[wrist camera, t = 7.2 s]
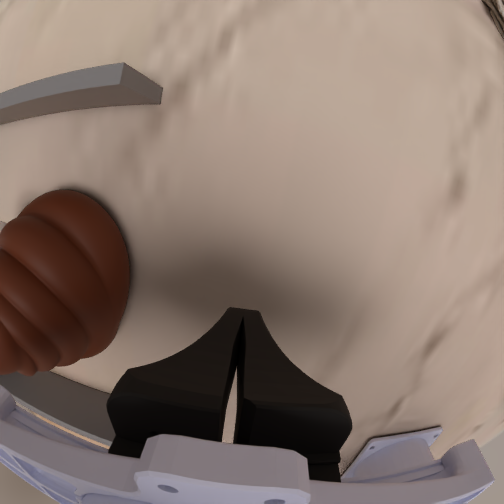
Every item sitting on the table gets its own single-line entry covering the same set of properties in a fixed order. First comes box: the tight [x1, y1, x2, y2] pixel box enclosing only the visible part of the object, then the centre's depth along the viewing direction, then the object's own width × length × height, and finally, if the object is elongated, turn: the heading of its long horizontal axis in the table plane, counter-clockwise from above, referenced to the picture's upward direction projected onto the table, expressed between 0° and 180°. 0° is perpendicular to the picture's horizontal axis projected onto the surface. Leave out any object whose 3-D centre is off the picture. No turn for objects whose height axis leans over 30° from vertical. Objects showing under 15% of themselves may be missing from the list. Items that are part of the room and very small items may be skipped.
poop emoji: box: [0, 190, 130, 376], centre depth 9 cm, size 10×8×9 cm
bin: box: [0, 63, 163, 446], centre depth 12 cm, size 20×15×4 cm
